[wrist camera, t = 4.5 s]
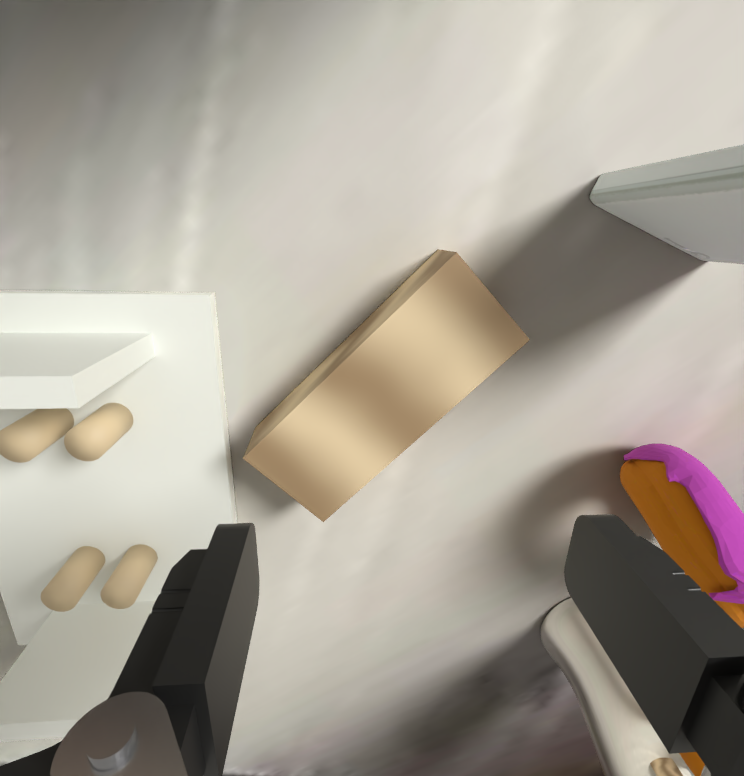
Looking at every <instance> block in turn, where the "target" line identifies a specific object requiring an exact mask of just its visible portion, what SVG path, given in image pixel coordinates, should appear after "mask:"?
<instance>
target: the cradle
mask: <svg viewBox="0 0 744 776" xmlns="http://www.w3.org/2000/svg"><path fill="white" fill-rule="evenodd" d="M236 523H237V514H236V503H235V493H234V483H233V473H232V462H231V452H230V442H229V432H228V421H227V411H226V401H225V391H224V380H223V370H222V360H221V350H220V339H219V329H218V319H217V309H216V298H215V292H131V291H42V290H0V593H1V596H2V599H3V602H4V605H5V608H6V611H7V614H8V617H9V620H10V623H11V626H12V629H13V632H14V635H15V638H16V641H17V644H18V645H27V646H26V648H25V649H24V650H23V652H22V653H21V654H20V656H19V657H18V658H17V660H16V661H15V662H14V664H13V665H12V666H11V668H10V669H9V670H8V672H7V673H6V674H5V676H4V677H3V678H2V680H1V681H0V742H12V741H26V740H41V739H55V738H64V737H65V736H66V734H67V733H68V732H69V730H70V729H71V728H72V727H73V726H74V725H75V723H76V722H77V721H78V720H79V719H81V718H82V717H83V716H84V715H85V714H86V713H87V712H89V711H90V710H91V709H93V708H94V707H95V706H97V705H99V704H100V703H102V702H104V701H105V700H107V699H108V697H109V696H110V694H111V692H112V690H113V688H114V686H115V684H116V682H117V680H118V678H119V676H120V674H121V672H122V670H123V668H124V666H125V664H126V661H127V659H128V657H129V655H130V653H131V651H132V649H133V647H134V645H135V643H136V641H137V639H138V637H139V635H140V632H141V630H142V628H143V626H144V624H145V622H146V620H147V618H148V616H149V614H150V613H152V608H153V606H154V603H155V601H156V599H157V597H158V595H159V594H161V589H162V587H163V585H164V583H165V581H166V579H167V577H168V574H169V572H170V570H171V568H172V567H173V566H174V565H175V564H176V563H177V562H178V561H179V560H180V559H181V558H182V557H183V556H184V555H185V554H187V553H188V552H189V551H190V550H191V549H207V548H208V546H209V544H210V541H211V539H212V536H213V534H214V531H215V529H216V527H217V525H218V524H236Z"/></svg>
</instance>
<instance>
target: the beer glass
mask: <svg viewBox="0 0 744 776" xmlns="http://www.w3.org/2000/svg"><path fill="white" fill-rule="evenodd" d="M540 636H541V640H542V643H543V645H544V647H545V649H546V650H547V652H548V653H549V654H550V656H551V657H552V658H553V660H554V661H555V662H556V664H557V665H558V666H559V668H560V669H561V670H562V672H563V673H564V675H565V676H566V678H567V680H568V682H569V683H570V685H571V687H572V689H573V691H574V693H575V696H576V698H577V700H578V703H579V705H580V708H581V711H582V714H583V716H584V719H585V722H586V725H587V728H588V731H589V734H590V737H591V740H592V743H593V746H594V749H595V752H596V754H597V757H598V760H599V763H600V766H601V769H602V771H603V774H604V776H701V773H702V770H703V768H704V766H705V764H704V763H703V761H702V760H701V758H700V757H699V755H698V754H697V752H687V753H673V754H669V753H668V751H667V749H666V748H665V746H664V745H663V743H662V741H661V740H660V738H659V737H658V735H657V733H656V732H655V730H654V729H653V727H652V725H651V724H650V722H649V721H648V719H647V717H646V716H645V714H644V713H643V711H642V710H641V708H640V706H639V705H638V703H637V702H636V700H635V698H634V697H633V695H632V694H631V692H630V690H629V689H628V687H627V686H626V684H625V682H624V681H623V679H622V678H621V676H620V674H619V673H618V671H617V670H616V668H615V666H614V665H613V663H612V662H611V660H610V658H609V657H608V655H607V654H606V652H605V650H604V649H603V647H602V646H601V644H600V643H599V641H598V639H597V638H596V636H595V635H594V633H593V631H592V630H591V628H590V627H589V625H588V623H587V622H586V620H585V619H584V617H583V615H582V614H581V612H580V611H579V609H578V607H577V606H576V604H575V603H574V601H573V599H572V598H569V599H566V600H564V601H563V602H561V603H559V604H558V605H557V606H555V607H554V608H553V609H552V610H551V611H550V612H549V613H548V614H547V616H546V617H545V619H544V621H543V623H542V626H541V631H540Z"/></svg>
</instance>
